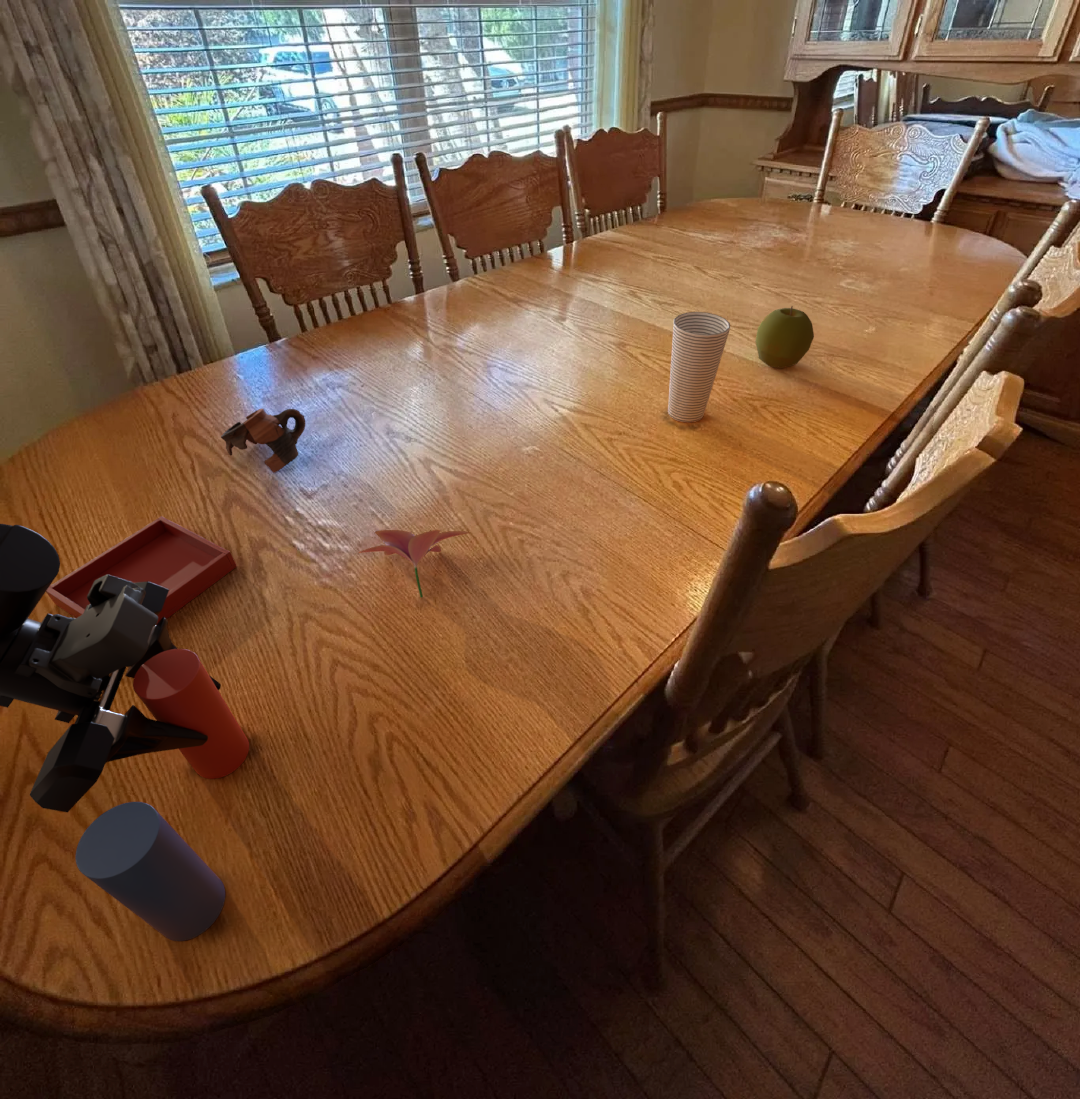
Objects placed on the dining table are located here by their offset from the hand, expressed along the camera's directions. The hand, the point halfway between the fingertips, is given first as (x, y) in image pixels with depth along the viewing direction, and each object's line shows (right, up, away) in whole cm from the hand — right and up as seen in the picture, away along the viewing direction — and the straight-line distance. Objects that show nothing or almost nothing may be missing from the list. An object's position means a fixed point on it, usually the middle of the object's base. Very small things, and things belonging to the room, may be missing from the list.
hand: (212, 714), depth 56 cm
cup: (+53, +37, +50) cm, 82 cm away
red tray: (-18, +10, +21) cm, 29 cm away
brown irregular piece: (-12, +29, +41) cm, 52 cm away
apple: (+74, +49, +63) cm, 109 cm away
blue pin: (+1, -14, -5) cm, 15 cm away
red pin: (-1, -5, +4) cm, 7 cm away
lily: (+14, +12, +22) cm, 29 cm away
